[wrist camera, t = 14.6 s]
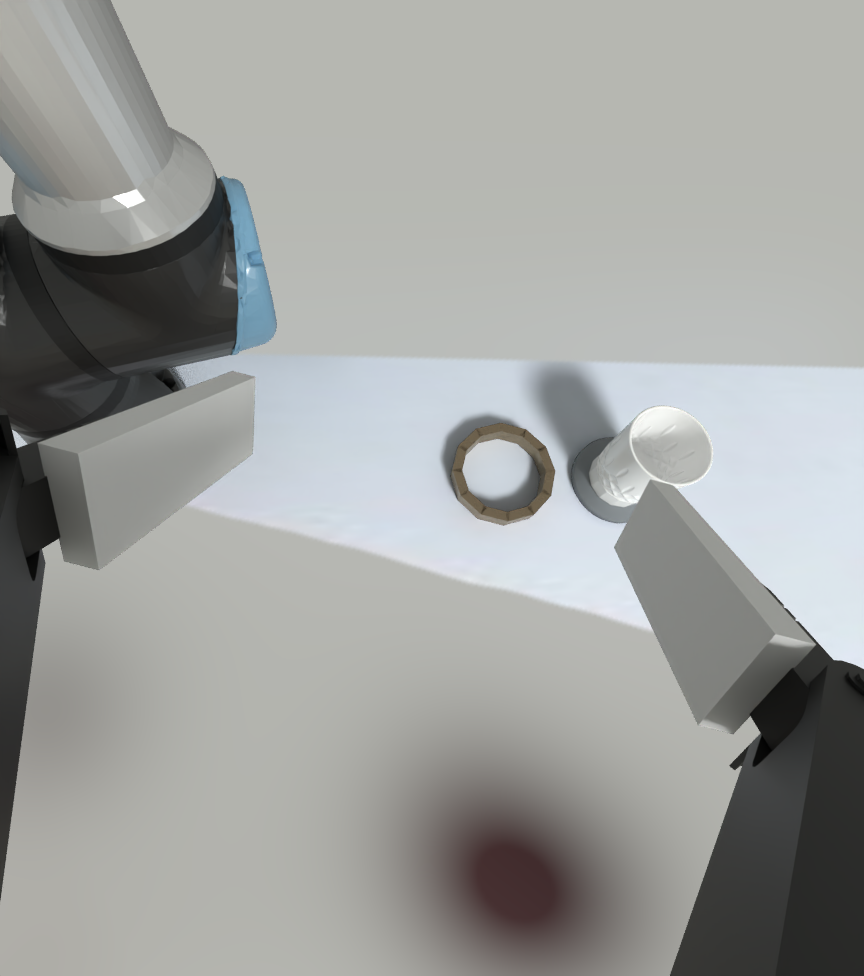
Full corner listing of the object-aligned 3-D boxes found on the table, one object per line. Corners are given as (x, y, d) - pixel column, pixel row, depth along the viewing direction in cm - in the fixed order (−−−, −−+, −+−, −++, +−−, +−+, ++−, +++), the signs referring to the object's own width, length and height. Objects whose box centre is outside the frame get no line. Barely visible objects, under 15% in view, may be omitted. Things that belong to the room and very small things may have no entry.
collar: (441, 509, 46) (443, 504, 44) (463, 421, 50) (466, 413, 48) (539, 534, 46) (545, 531, 44) (554, 445, 50) (560, 438, 48)
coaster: (565, 510, 47) (569, 508, 46) (577, 431, 50) (581, 428, 49) (652, 532, 47) (657, 531, 46) (658, 452, 50) (663, 449, 49)
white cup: (570, 464, 48) (612, 427, 38) (624, 435, 50) (677, 392, 40) (610, 524, 46) (664, 500, 37) (664, 492, 48) (730, 461, 38)
